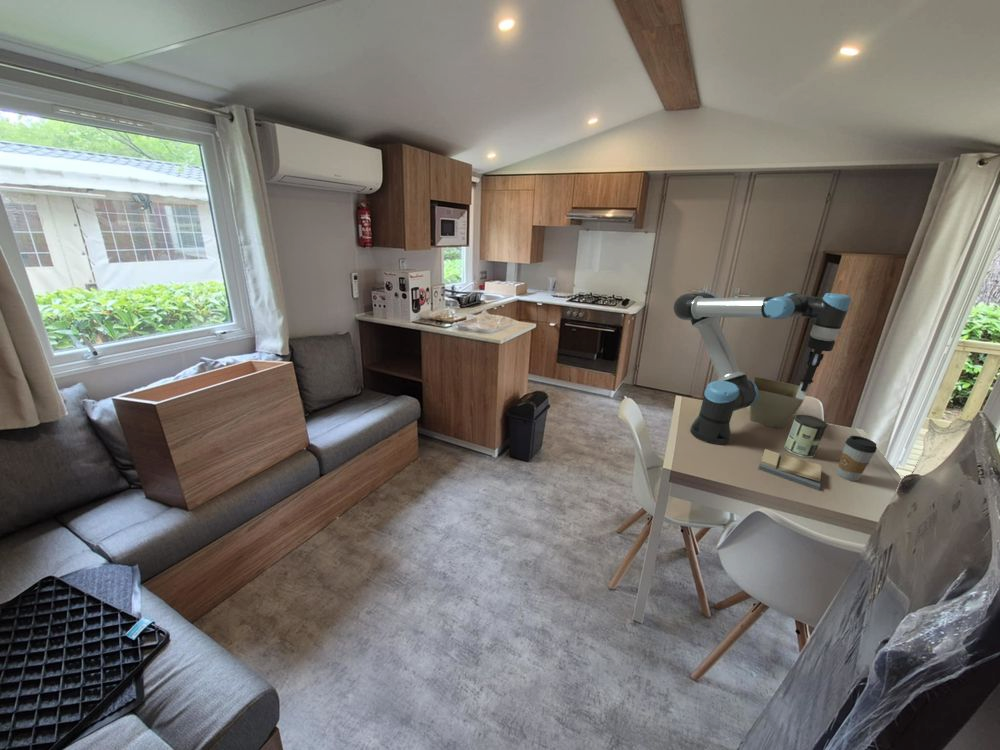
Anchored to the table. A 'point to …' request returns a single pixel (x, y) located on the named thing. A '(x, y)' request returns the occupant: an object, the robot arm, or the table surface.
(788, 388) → the flower pot
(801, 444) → the coffee can
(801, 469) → the plank
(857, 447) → the coffee cup
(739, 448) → the table surface
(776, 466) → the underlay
